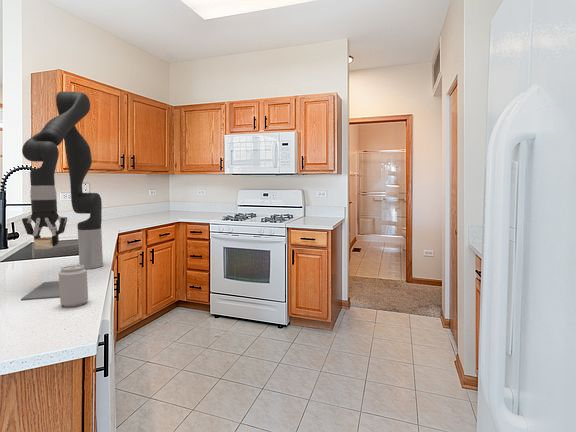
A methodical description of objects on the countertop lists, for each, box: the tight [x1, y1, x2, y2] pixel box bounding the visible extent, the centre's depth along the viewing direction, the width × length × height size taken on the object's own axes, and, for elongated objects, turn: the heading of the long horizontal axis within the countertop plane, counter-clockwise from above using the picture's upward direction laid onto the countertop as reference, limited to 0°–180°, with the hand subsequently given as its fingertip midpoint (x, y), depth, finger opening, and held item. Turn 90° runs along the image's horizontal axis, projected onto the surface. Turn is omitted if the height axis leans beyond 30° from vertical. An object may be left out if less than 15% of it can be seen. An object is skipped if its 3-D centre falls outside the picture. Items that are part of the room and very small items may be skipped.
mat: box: [20, 280, 60, 301], centre depth 126 cm, size 20×14×1 cm
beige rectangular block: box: [33, 236, 60, 250], centre depth 127 cm, size 8×5×3 cm, turn 13°
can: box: [58, 264, 89, 308], centre depth 111 cm, size 8×8×12 cm
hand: (46, 245), depth 127 cm, fingers closed on beige rectangular block, 4 cm apart
